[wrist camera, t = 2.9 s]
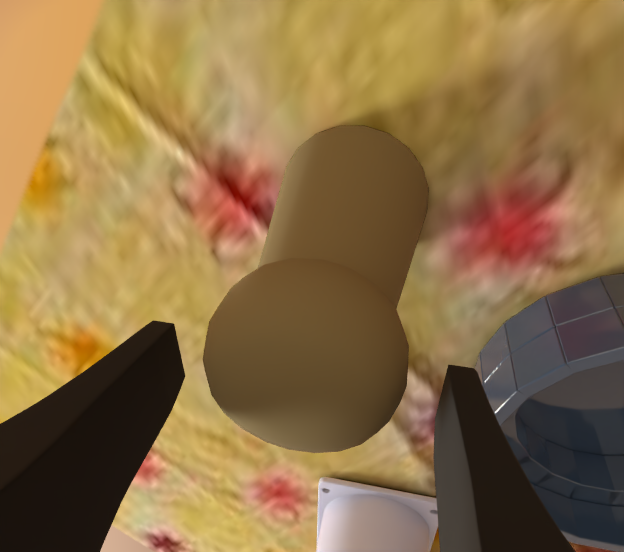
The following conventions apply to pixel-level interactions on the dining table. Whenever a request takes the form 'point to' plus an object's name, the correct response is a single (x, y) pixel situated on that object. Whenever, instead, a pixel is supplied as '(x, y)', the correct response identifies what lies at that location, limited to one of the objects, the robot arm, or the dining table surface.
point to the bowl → (566, 404)
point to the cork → (324, 298)
